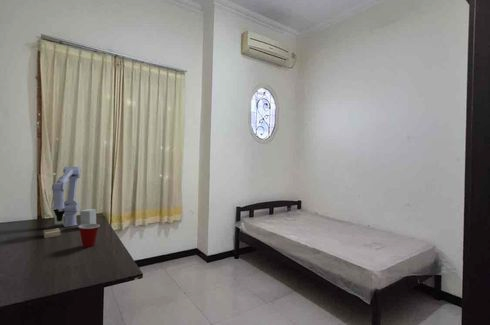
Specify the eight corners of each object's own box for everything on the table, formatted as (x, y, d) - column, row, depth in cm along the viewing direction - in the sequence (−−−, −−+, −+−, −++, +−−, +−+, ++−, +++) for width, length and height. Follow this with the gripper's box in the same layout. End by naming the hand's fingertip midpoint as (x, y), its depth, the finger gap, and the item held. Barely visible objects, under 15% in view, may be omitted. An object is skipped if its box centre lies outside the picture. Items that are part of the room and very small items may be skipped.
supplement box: (96, 225, 188) (96, 209, 188) (89, 228, 181) (89, 211, 181) (87, 225, 189) (87, 208, 189) (80, 228, 182) (79, 210, 182)
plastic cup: (102, 245, 148) (102, 225, 147) (80, 250, 140) (80, 228, 140) (96, 241, 155) (96, 221, 155) (76, 245, 147) (76, 225, 147)
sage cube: (54, 223, 170) (54, 216, 170) (62, 221, 173) (62, 215, 173) (55, 224, 167) (55, 217, 167) (63, 223, 170) (63, 216, 170)
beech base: (43, 235, 165) (43, 230, 165) (58, 232, 171) (58, 228, 171) (44, 238, 159) (44, 233, 159) (60, 235, 165) (60, 230, 165)
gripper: (50, 199, 172) (50, 219, 172) (52, 202, 162) (52, 223, 162) (62, 198, 177) (62, 217, 177) (66, 201, 166) (66, 221, 167)
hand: (59, 220), depth 170 cm, fingers closed on sage cube, 4 cm apart
